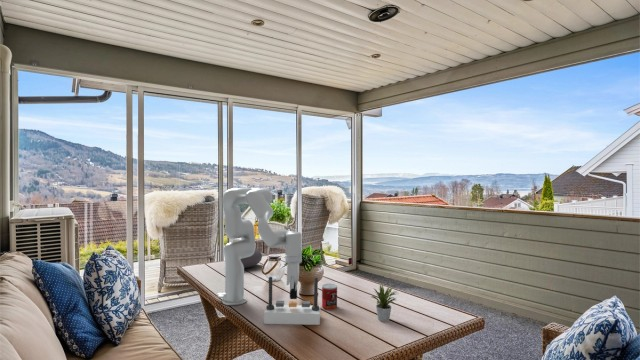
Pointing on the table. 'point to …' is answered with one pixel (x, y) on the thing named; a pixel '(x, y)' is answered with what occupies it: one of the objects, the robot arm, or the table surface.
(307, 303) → the right button
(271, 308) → the left cord
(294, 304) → the middle button
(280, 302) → the left button
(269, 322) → the strip
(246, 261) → the flattened ellipsoid
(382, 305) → the house plant
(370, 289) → the table surface
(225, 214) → the robot arm
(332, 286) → the canned food
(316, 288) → the right cord
